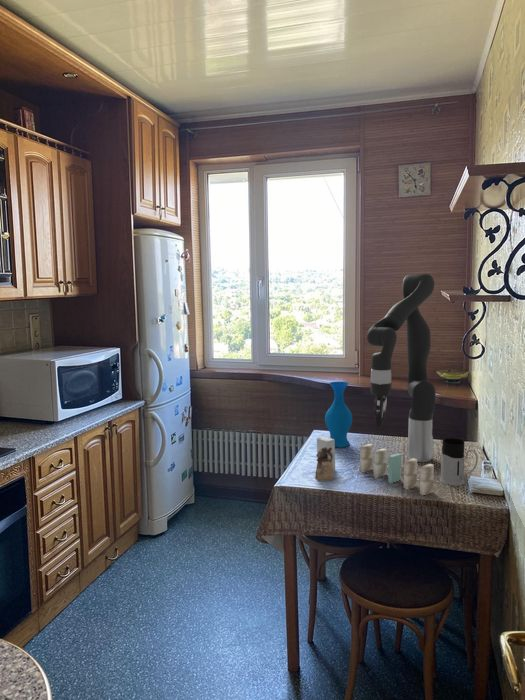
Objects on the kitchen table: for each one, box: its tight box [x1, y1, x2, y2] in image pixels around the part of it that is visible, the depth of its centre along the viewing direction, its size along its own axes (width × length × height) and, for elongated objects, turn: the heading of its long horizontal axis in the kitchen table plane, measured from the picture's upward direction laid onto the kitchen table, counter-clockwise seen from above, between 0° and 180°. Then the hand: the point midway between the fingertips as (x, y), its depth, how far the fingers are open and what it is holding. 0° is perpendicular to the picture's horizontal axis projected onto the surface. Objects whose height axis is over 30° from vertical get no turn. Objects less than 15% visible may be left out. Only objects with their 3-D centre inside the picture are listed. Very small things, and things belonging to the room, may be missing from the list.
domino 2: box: [373, 448, 388, 479], centre depth 198 cm, size 5×2×10 cm, turn 126°
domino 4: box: [403, 458, 418, 490], centre depth 187 cm, size 5×2×10 cm, turn 126°
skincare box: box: [316, 436, 336, 470], centre depth 206 cm, size 6×4×12 cm
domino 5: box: [419, 463, 435, 496], centre depth 181 cm, size 5×2×10 cm, turn 126°
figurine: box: [314, 446, 335, 482], centre depth 196 cm, size 7×7×12 cm
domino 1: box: [359, 443, 374, 473], centre depth 203 cm, size 5×2×10 cm, turn 126°
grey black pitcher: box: [439, 437, 479, 487], centre depth 190 cm, size 9×14×15 cm, turn 35°
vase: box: [324, 381, 353, 448], centre depth 235 cm, size 12×13×28 cm
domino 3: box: [387, 452, 402, 484], centre depth 192 cm, size 5×2×10 cm, turn 125°
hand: (380, 423), depth 196 cm, fingers open, 8 cm apart
